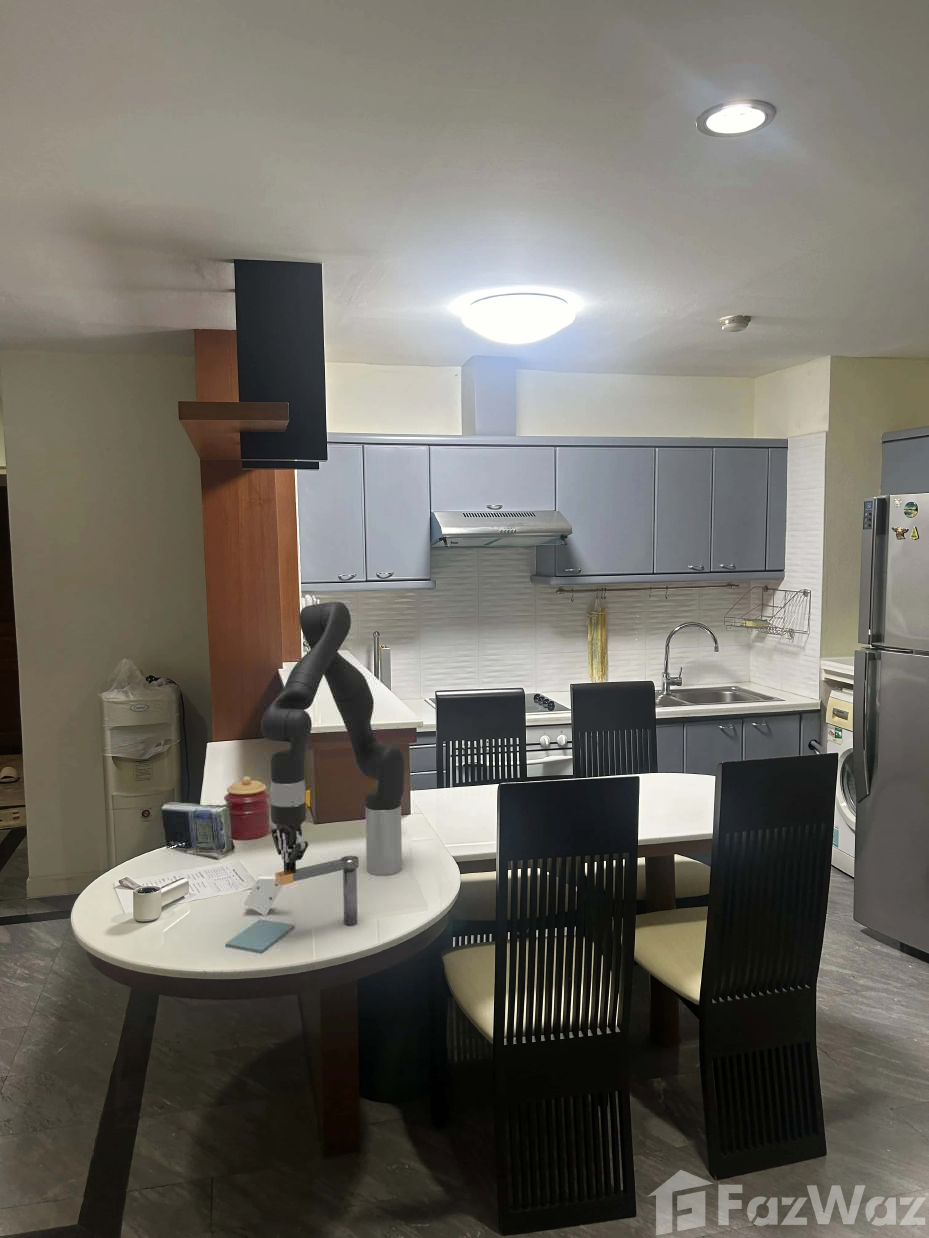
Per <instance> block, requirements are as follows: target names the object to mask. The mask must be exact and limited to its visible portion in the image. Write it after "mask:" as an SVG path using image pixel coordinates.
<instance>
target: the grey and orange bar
mask: <svg viewBox="0 0 929 1238" xmlns="http://www.w3.org/2000/svg"><path fill="white" fill-rule="evenodd" d="M359 862H360V861H359V856H357V855H345V856H342V857H340V859H335V860H331V861H327V862H321V863H317V864H313V865H309V866H303V867H299V868H296V869H294V870H290V871H289V870H286V871H284V870H283V871H278V872H275V874H274V876H275V878H276V883H277V884H279V885H283V886H284V885H289V884H292V883H293V884H294V882H296V881H302V880H306V879H310V878H314V877H318V876H322V875H323V876H324V875H327V874H332V873H336V872H340V871H343V870H353V869H356V870H357V869H358V868H359V867H360V865H359Z"/></svg>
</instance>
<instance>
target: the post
mask: <svg viewBox="0 0 929 1238" xmlns="http://www.w3.org/2000/svg"><path fill="white" fill-rule="evenodd" d="M357 871H358V870H357V868H356V869H353V870H342V880H343V881H342V884H343V885H342V886H343V887H342V888H343V893H342V894H343V925H344V926H346V927H354V926H356V925H357V924H358V885H357V884H358V883H357V882H358V881H357V880H358V879H357V878H358V877H357Z"/></svg>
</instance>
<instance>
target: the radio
mask: <svg viewBox="0 0 929 1238" xmlns="http://www.w3.org/2000/svg"><path fill="white" fill-rule="evenodd" d="M160 810H161V813H160V814H161V820H162V826H163V831H164V838H165V839H164V840H165V843H166V845H165V848H166V849H168V848H170V847H172V846H175V845H177V846H176V847H173V848H171V849H170V850H172V849H174V850H173V851H176V852H180V853H184V854H188V855H193V856H198V857H202V858H207V859H212V860H216V861H221V860H223V859H224V858H227V857H229V856H232V855H233V854H235V853H236V852H235V850H236V845H235V842H234V841H233V839H231V824H230V811H229V805H228V804H226V803H225V804H199V803H193V802H191V803H190V802H189V803H187V802H177V801H176V802H175V801H172V802H171V801H170V802H165V803H162V806H161V809H160ZM183 843H185V844H183ZM179 844H181V845H179Z"/></svg>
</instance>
